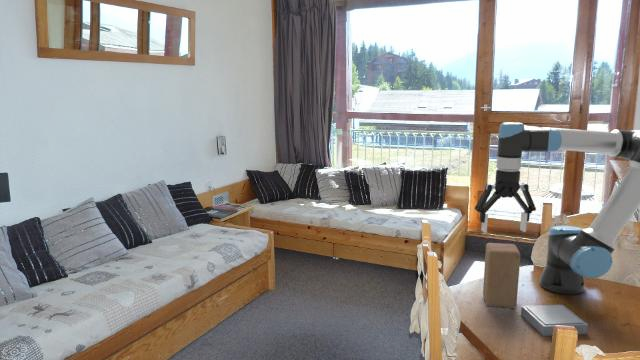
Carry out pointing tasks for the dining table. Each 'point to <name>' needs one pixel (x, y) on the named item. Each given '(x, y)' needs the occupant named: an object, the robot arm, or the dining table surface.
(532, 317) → the slate tray
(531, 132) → the robot arm
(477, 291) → the dining table surface
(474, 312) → the dining table surface
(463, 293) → the dining table surface
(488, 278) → the wooden block
